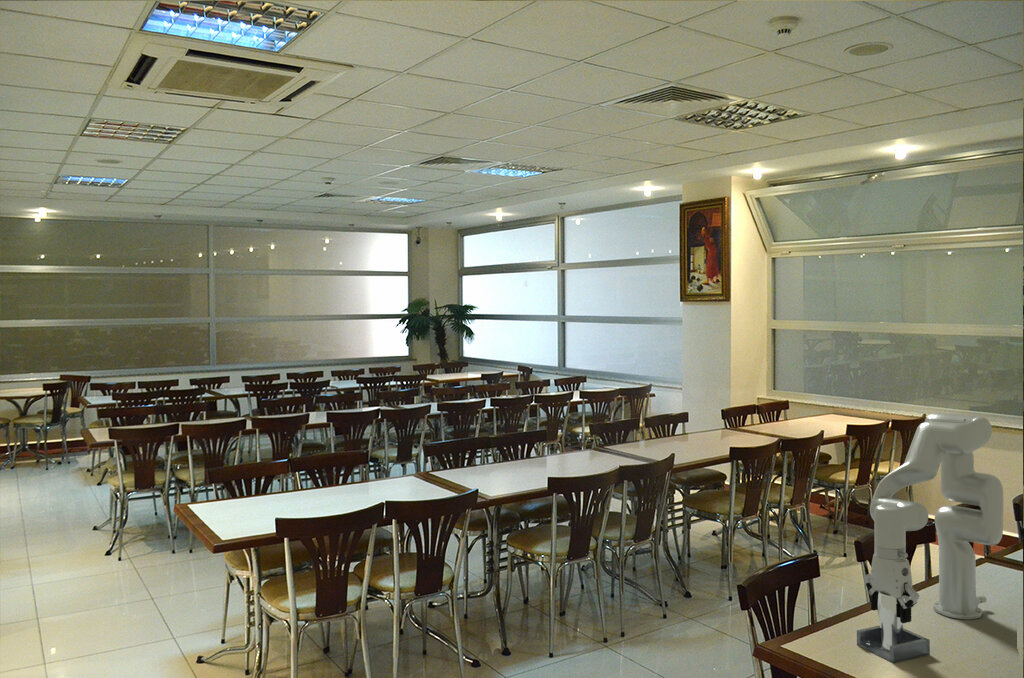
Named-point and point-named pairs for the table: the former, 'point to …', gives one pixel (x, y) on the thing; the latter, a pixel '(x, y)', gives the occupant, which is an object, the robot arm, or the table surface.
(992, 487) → the robot arm
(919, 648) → the grey tray
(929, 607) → the table surface
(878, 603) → the beer glass
